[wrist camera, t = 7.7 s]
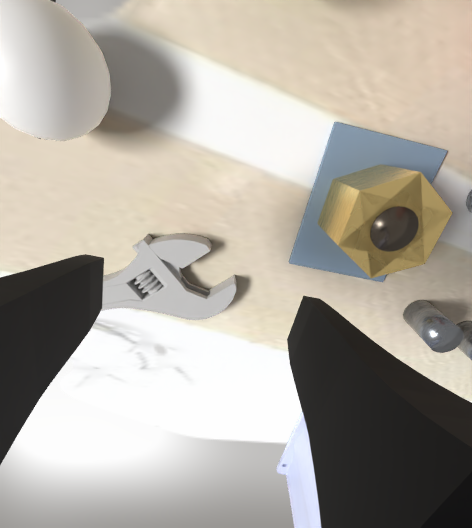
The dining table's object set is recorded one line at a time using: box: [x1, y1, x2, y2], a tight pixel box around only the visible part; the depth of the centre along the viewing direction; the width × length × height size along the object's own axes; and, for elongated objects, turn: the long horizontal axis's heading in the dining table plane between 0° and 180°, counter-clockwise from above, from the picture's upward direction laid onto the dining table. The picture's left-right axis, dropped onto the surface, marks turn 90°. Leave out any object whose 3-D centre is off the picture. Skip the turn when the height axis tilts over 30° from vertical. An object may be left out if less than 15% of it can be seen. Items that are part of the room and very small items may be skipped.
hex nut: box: [317, 164, 452, 278], centre depth 16 cm, size 6×5×4 cm
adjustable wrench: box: [101, 233, 236, 320], centre depth 20 cm, size 25×6×2 cm, turn 96°
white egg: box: [0, 0, 111, 141], centre depth 13 cm, size 8×6×6 cm
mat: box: [289, 122, 447, 282], centre depth 18 cm, size 9×7×1 cm
